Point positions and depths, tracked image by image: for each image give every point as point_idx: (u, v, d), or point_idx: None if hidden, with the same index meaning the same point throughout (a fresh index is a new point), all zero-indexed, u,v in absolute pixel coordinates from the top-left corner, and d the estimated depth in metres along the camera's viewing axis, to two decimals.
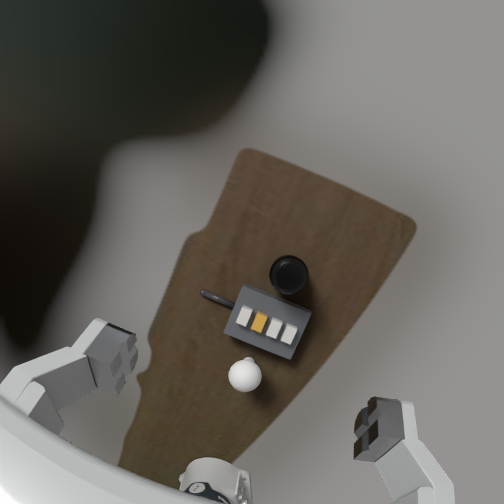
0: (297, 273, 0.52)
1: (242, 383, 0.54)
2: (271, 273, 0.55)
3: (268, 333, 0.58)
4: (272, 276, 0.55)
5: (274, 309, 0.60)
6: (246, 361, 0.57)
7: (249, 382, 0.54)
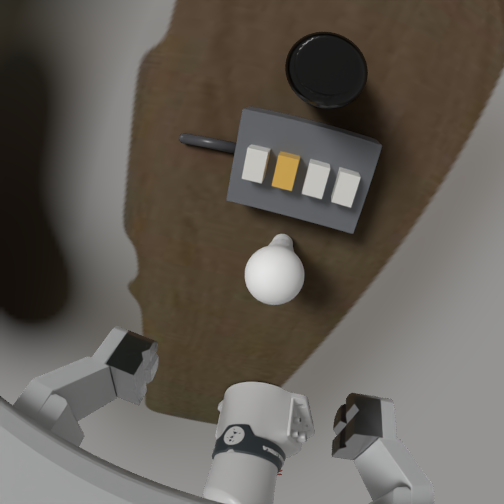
0: (343, 56, 0.19)
1: (268, 294, 0.31)
2: (288, 69, 0.22)
3: (306, 190, 0.30)
4: (292, 74, 0.22)
5: (311, 142, 0.30)
6: (272, 249, 0.32)
7: (281, 291, 0.30)
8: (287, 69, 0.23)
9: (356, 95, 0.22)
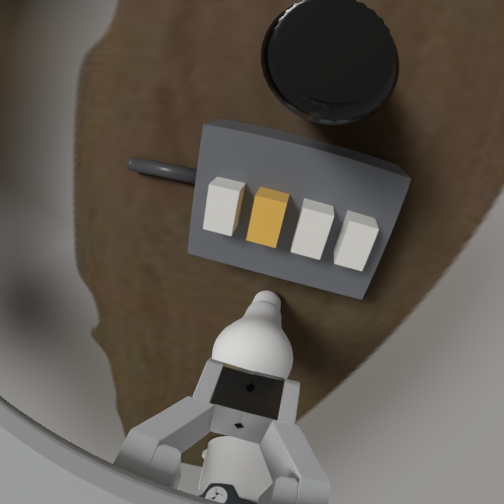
0: (364, 31, 0.09)
1: None
2: (266, 59, 0.13)
3: (297, 247, 0.21)
4: (271, 68, 0.13)
5: (306, 174, 0.20)
6: (247, 329, 0.22)
7: None
8: (263, 59, 0.13)
9: (381, 103, 0.13)
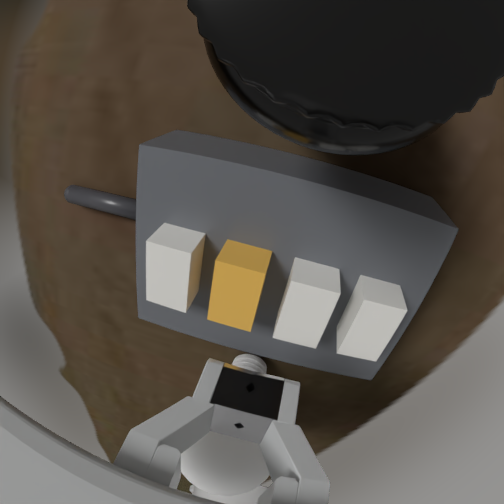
0: None
1: (210, 492, 0.14)
2: None
3: (282, 333, 0.14)
4: None
5: (299, 222, 0.13)
6: None
7: (231, 492, 0.14)
8: None
9: None
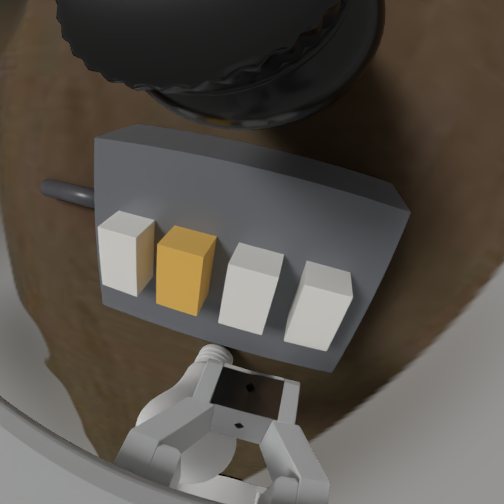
0: None
1: None
2: None
3: (227, 318, 0.14)
4: None
5: (239, 207, 0.13)
6: None
7: (186, 480, 0.14)
8: None
9: (347, 79, 0.06)
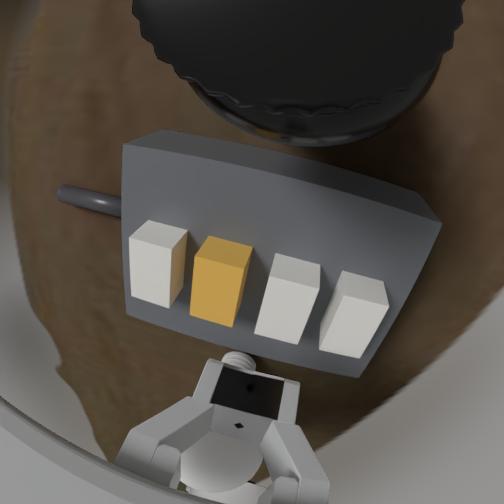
0: None
1: (197, 489, 0.14)
2: None
3: (263, 329, 0.14)
4: None
5: (278, 218, 0.13)
6: None
7: (217, 489, 0.14)
8: None
9: (413, 103, 0.06)
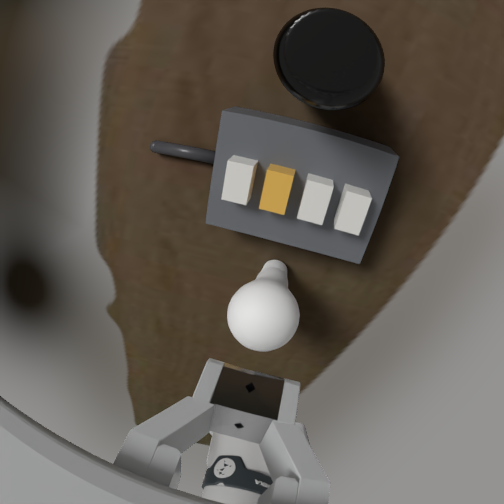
0: (354, 37, 0.12)
1: (254, 342, 0.25)
2: (277, 57, 0.16)
3: (302, 214, 0.24)
4: (282, 64, 0.16)
5: (310, 153, 0.23)
6: (260, 287, 0.26)
7: (270, 339, 0.24)
8: (276, 57, 0.16)
9: (370, 92, 0.16)
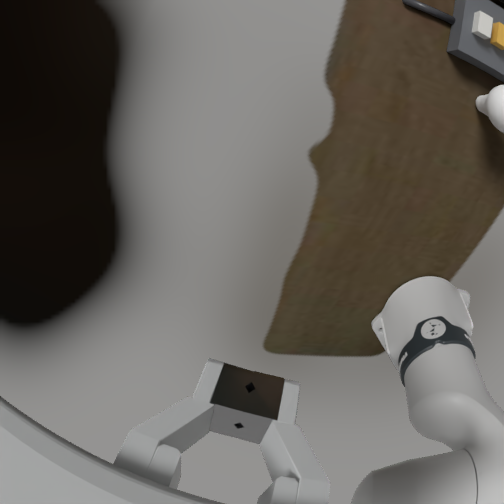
0: None
1: None
2: None
3: None
4: None
5: None
6: None
7: None
8: None
9: None
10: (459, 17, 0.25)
